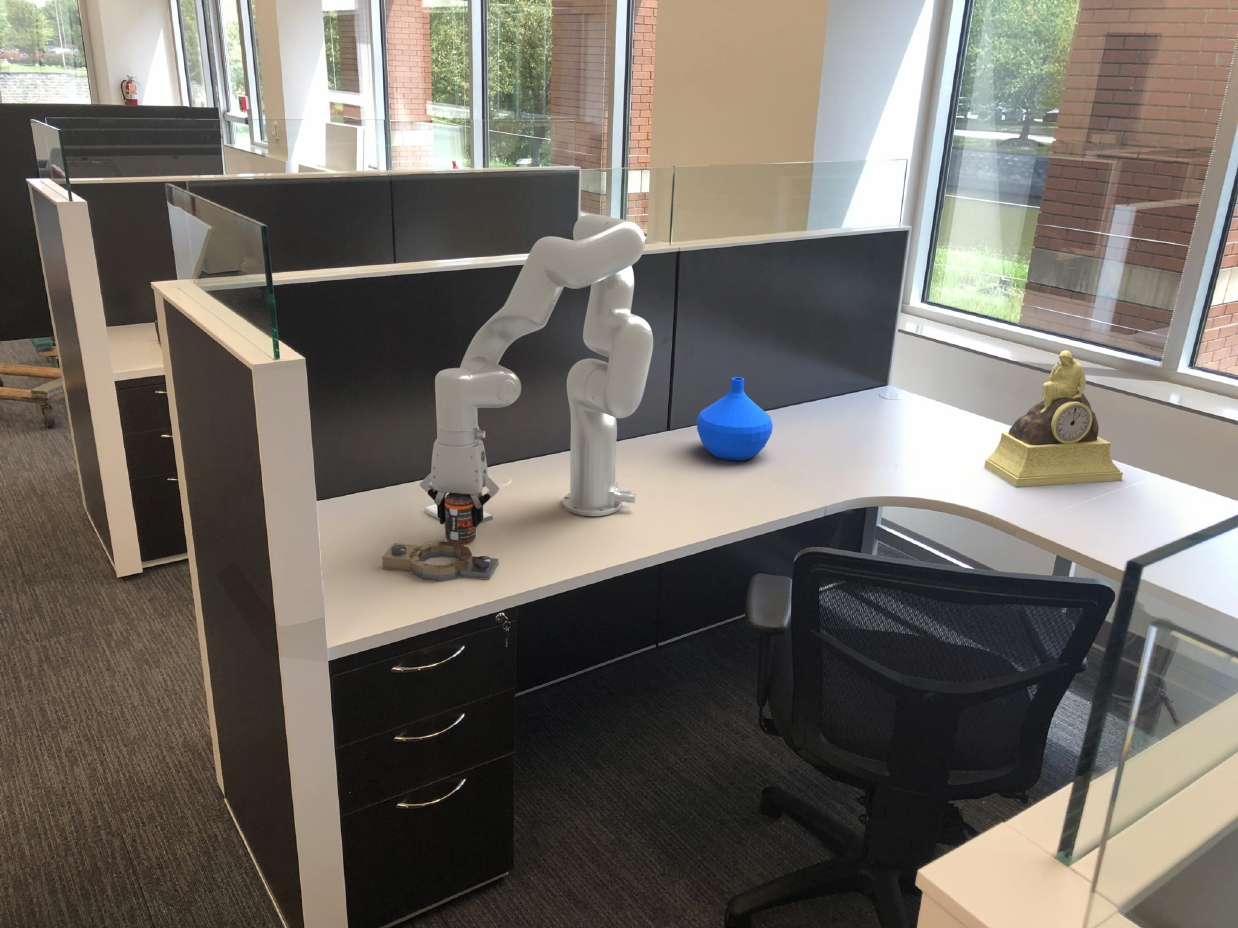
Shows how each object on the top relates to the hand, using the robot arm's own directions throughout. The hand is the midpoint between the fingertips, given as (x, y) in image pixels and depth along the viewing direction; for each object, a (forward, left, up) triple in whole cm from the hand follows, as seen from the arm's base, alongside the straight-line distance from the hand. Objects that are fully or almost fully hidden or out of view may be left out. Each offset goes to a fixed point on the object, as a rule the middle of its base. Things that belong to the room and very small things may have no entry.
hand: (460, 522), depth 187 cm
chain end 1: (+2, +12, -4) cm, 13 cm away
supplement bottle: (0, 0, -4) cm, 4 cm away
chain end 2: (-2, +12, -4) cm, 13 cm away
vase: (-50, -61, -4) cm, 79 cm away
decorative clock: (-126, -65, -4) cm, 142 cm away
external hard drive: (+4, -11, -4) cm, 12 cm away
